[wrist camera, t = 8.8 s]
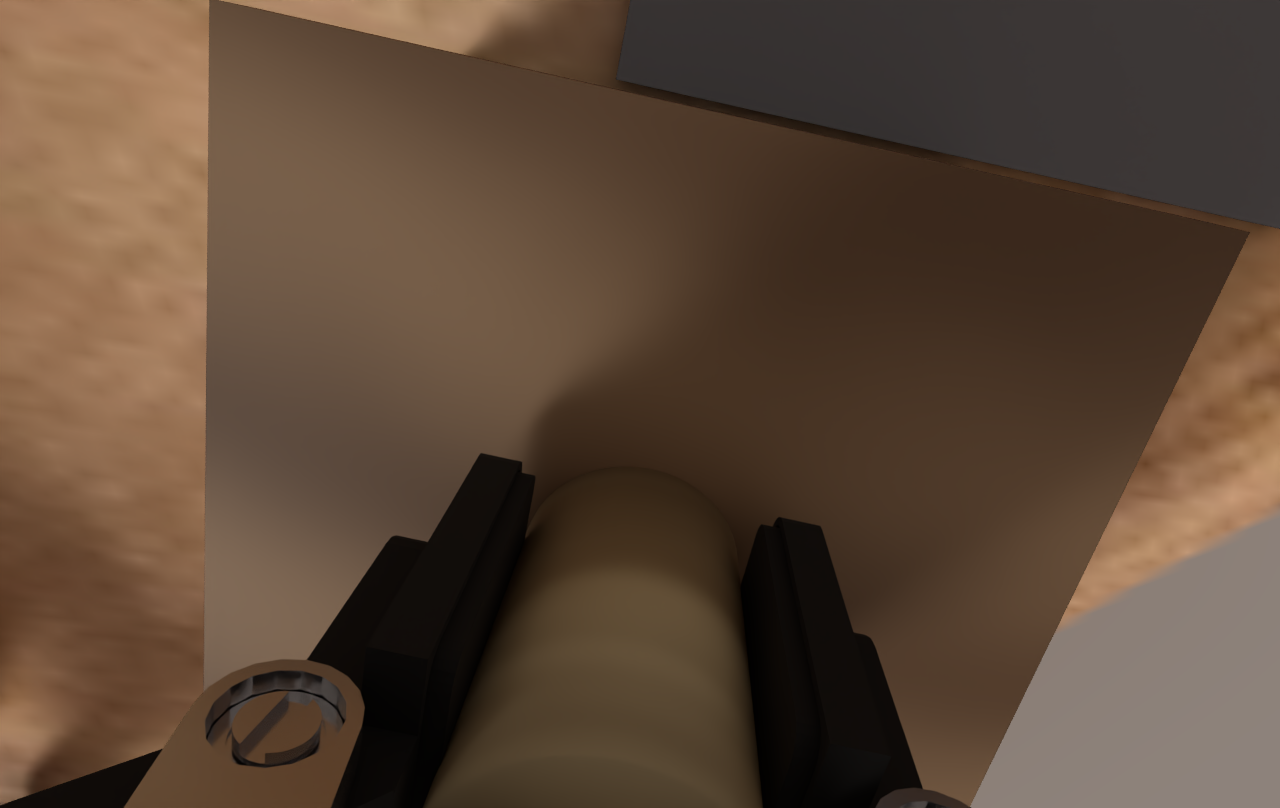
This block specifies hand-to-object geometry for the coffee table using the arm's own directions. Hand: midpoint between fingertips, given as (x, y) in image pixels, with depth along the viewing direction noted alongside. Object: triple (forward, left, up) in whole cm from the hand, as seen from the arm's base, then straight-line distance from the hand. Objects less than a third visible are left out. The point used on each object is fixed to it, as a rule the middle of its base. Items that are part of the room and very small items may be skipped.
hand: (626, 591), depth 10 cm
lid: (0, 0, -2) cm, 2 cm away
